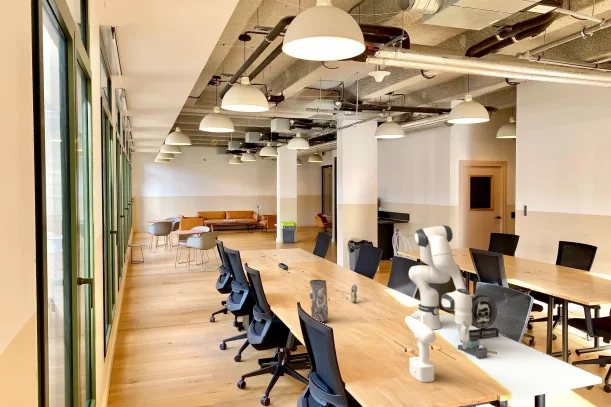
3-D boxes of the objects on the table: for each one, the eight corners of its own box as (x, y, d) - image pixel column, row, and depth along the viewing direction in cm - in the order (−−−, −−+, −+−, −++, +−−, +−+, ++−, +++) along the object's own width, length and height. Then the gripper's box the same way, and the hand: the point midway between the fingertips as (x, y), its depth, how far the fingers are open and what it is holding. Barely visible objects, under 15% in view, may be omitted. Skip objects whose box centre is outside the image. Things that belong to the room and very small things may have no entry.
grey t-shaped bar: (455, 349, 245) (455, 338, 245) (463, 347, 248) (463, 336, 248) (479, 359, 231) (479, 346, 231) (487, 357, 234) (487, 344, 234)
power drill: (415, 364, 225) (415, 314, 225) (440, 384, 202) (440, 328, 201) (399, 365, 223) (399, 315, 223) (422, 386, 200) (422, 329, 199)
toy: (335, 302, 355) (334, 283, 354) (365, 299, 361) (365, 281, 361) (339, 304, 345) (338, 285, 345) (370, 302, 352) (370, 283, 352)
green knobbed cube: (465, 347, 249) (465, 338, 249) (472, 346, 251) (472, 337, 251) (471, 350, 244) (471, 341, 244) (479, 349, 246) (479, 340, 246)
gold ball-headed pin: (482, 352, 241) (482, 350, 241) (483, 350, 243) (484, 349, 243) (495, 354, 238) (495, 353, 237) (497, 353, 239) (497, 351, 239)
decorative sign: (466, 340, 261) (466, 297, 260) (463, 338, 264) (463, 296, 263) (498, 336, 267) (498, 294, 266) (495, 335, 269) (495, 293, 269)
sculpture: (327, 324, 294) (326, 281, 293) (308, 323, 296) (307, 281, 296) (329, 319, 305) (329, 278, 305) (311, 318, 308) (311, 278, 307)
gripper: (472, 325, 233) (472, 352, 233) (467, 315, 253) (467, 339, 253) (459, 324, 234) (459, 351, 234) (455, 314, 254) (455, 338, 254)
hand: (463, 345), depth 244 cm, fingers open, 8 cm apart
